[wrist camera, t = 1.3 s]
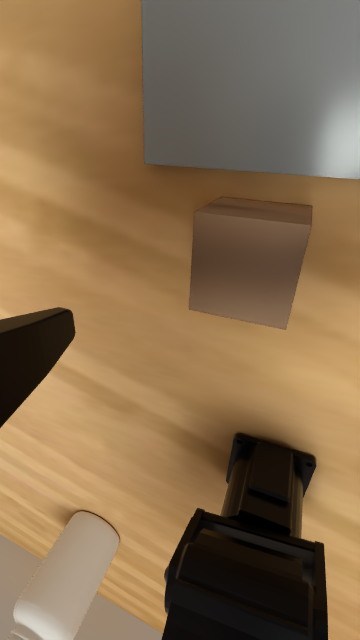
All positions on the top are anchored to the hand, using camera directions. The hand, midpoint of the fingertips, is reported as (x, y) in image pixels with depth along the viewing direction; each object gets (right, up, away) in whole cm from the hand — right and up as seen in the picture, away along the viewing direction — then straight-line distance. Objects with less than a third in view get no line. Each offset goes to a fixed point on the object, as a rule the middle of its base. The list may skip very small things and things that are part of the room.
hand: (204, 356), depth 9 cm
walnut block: (+4, +6, +10) cm, 12 cm away
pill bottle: (-13, -29, +37) cm, 48 cm away
